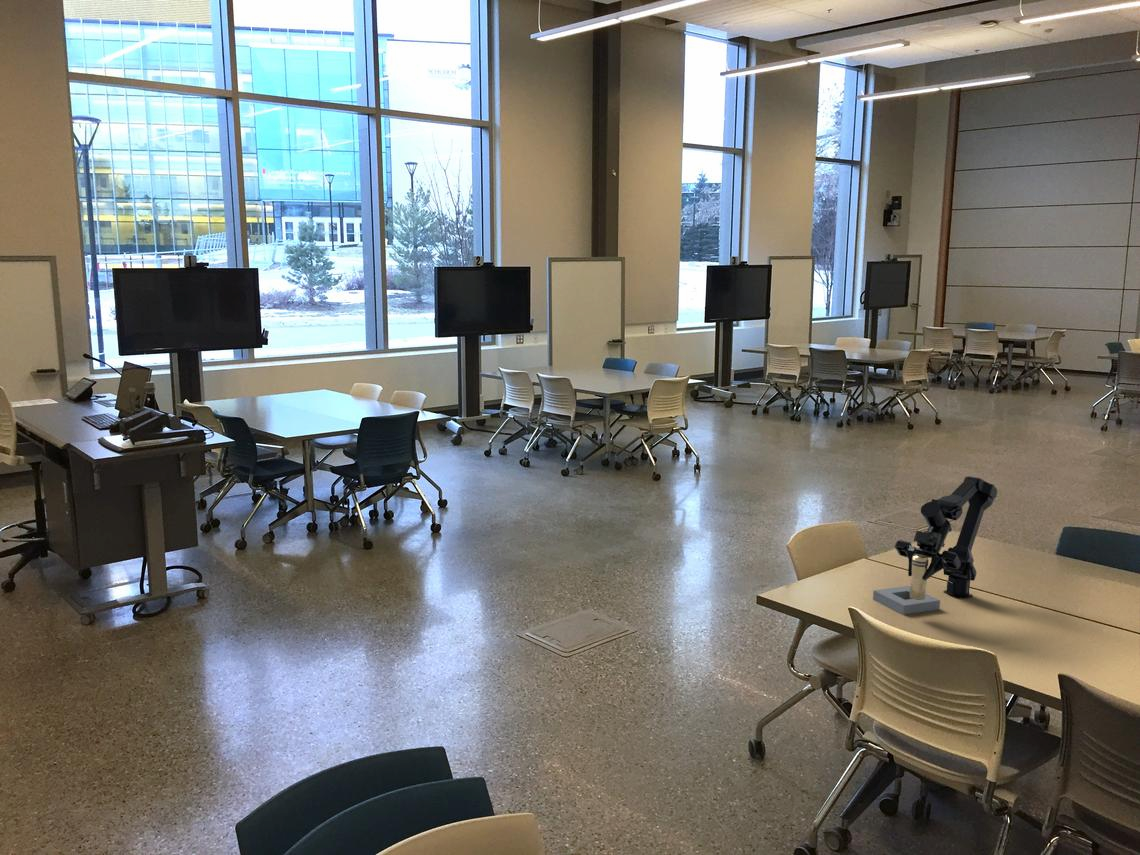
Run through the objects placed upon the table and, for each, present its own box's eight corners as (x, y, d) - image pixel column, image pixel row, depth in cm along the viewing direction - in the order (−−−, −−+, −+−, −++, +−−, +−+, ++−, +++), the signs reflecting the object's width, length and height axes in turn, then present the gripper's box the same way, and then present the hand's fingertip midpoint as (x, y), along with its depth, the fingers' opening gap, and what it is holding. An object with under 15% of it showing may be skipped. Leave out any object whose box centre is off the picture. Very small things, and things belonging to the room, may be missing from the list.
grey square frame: (907, 594, 288) (908, 585, 288) (939, 609, 275) (940, 600, 275) (872, 599, 283) (873, 590, 283) (903, 614, 271) (904, 605, 270)
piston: (919, 594, 271) (922, 553, 269) (928, 599, 267) (932, 558, 264) (905, 595, 270) (908, 554, 268) (914, 600, 266) (917, 559, 263)
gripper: (899, 514, 274) (879, 556, 268) (959, 527, 260) (939, 571, 255) (909, 533, 280) (890, 575, 275) (968, 547, 267) (949, 590, 262)
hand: (916, 577), depth 266 cm, fingers closed on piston, 4 cm apart
